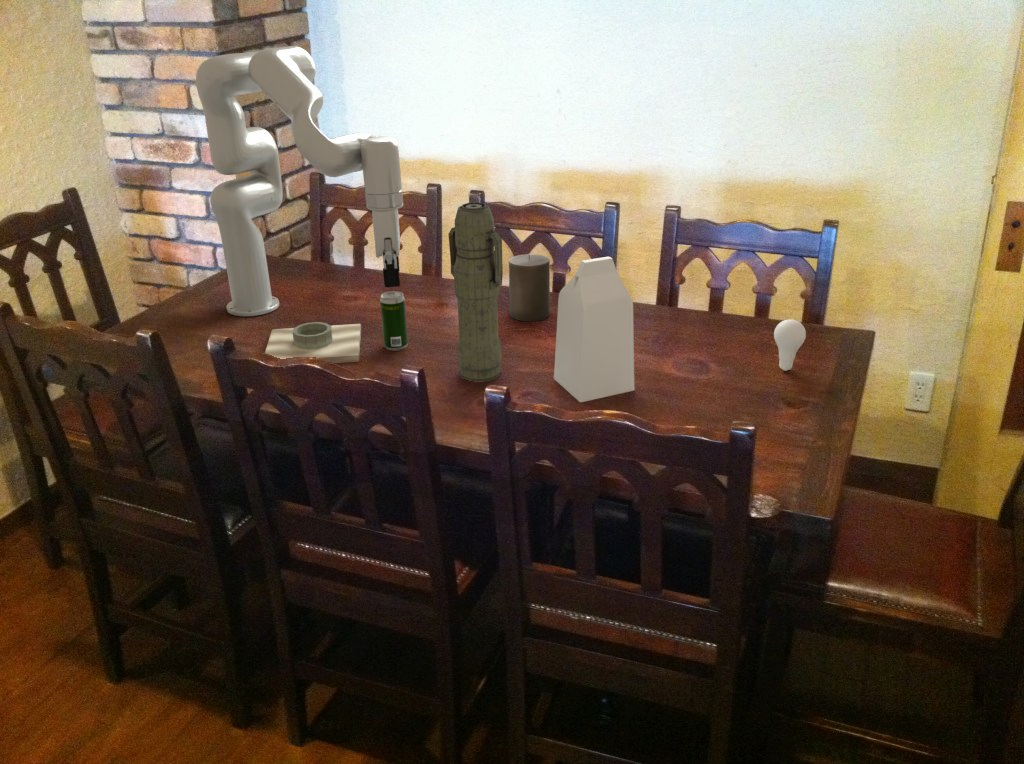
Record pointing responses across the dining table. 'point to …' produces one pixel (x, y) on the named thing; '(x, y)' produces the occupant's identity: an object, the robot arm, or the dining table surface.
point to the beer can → (394, 320)
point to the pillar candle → (529, 287)
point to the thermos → (477, 290)
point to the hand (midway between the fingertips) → (392, 279)
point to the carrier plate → (327, 353)
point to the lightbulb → (788, 341)
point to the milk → (595, 333)
